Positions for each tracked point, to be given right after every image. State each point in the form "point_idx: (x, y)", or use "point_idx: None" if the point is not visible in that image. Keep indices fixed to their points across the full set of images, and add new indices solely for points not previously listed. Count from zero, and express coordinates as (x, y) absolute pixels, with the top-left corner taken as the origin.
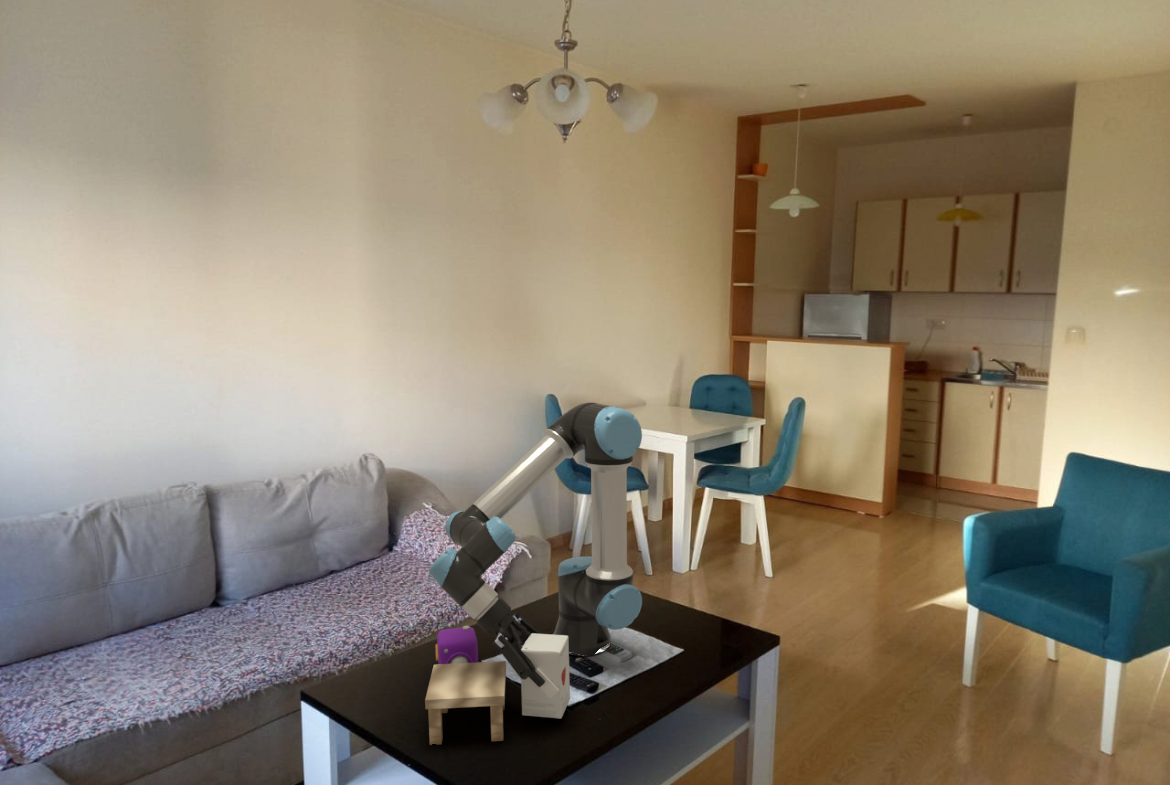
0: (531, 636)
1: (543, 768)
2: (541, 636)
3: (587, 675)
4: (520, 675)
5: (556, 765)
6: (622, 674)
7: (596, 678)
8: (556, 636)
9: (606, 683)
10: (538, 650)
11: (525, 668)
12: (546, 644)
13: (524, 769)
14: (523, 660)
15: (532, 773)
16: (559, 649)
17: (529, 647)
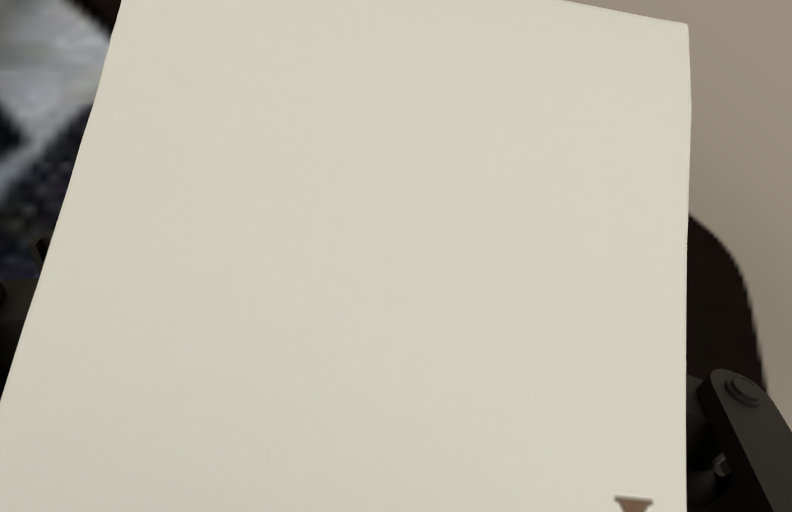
0: (132, 510)
1: (711, 279)
2: (155, 313)
3: (8, 152)
4: (715, 467)
5: (688, 238)
6: (19, 10)
7: (45, 114)
8: (172, 69)
9: (99, 74)
10: (670, 304)
11: (786, 433)
12: (480, 199)
13: (727, 343)
14: (766, 490)
15: (743, 312)
16: (610, 21)
17: (599, 467)
